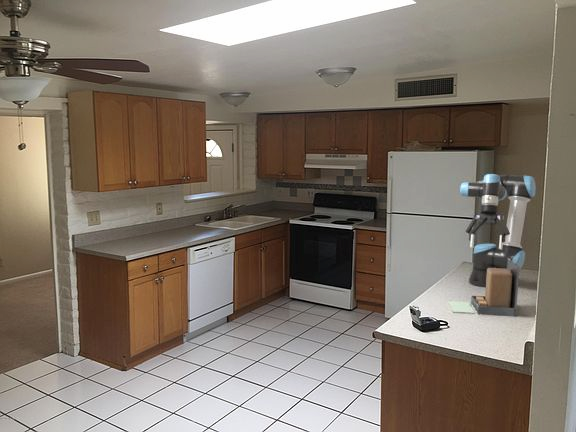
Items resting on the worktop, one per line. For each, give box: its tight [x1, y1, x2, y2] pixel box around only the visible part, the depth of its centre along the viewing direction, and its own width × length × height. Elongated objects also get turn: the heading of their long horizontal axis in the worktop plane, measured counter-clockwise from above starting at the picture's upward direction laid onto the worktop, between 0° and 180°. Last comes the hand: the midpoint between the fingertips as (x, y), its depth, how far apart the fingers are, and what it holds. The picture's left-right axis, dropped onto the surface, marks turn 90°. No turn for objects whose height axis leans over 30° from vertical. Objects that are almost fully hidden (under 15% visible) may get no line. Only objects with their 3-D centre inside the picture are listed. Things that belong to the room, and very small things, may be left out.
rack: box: [470, 259, 520, 317], centre depth 245 cm, size 17×17×24 cm
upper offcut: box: [475, 295, 487, 306], centre depth 247 cm, size 11×3×2 cm, turn 169°
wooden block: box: [484, 268, 512, 307], centre depth 245 cm, size 10×10×20 cm
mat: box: [447, 300, 476, 315], centre depth 249 cm, size 16×10×1 cm, turn 171°
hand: (485, 248), depth 242 cm, fingers open, 13 cm apart
